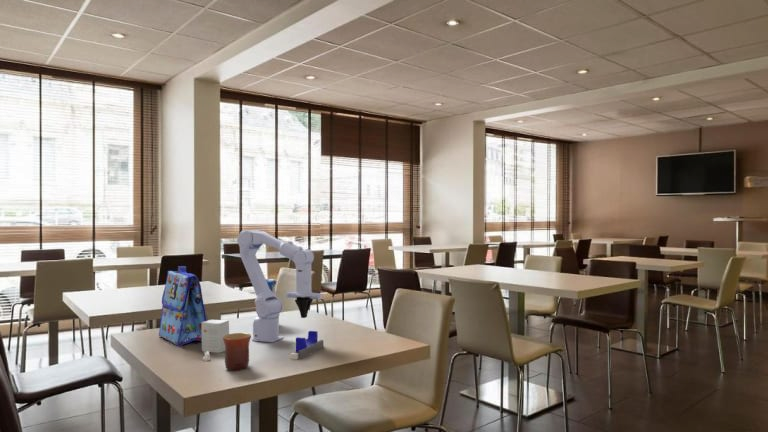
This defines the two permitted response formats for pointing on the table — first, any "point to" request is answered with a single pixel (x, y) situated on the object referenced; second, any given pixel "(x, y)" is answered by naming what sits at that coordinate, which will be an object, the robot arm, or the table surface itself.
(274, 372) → the table surface
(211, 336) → the small box
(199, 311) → the lunch bag
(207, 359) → the power adapter
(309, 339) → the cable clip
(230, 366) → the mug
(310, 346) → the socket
